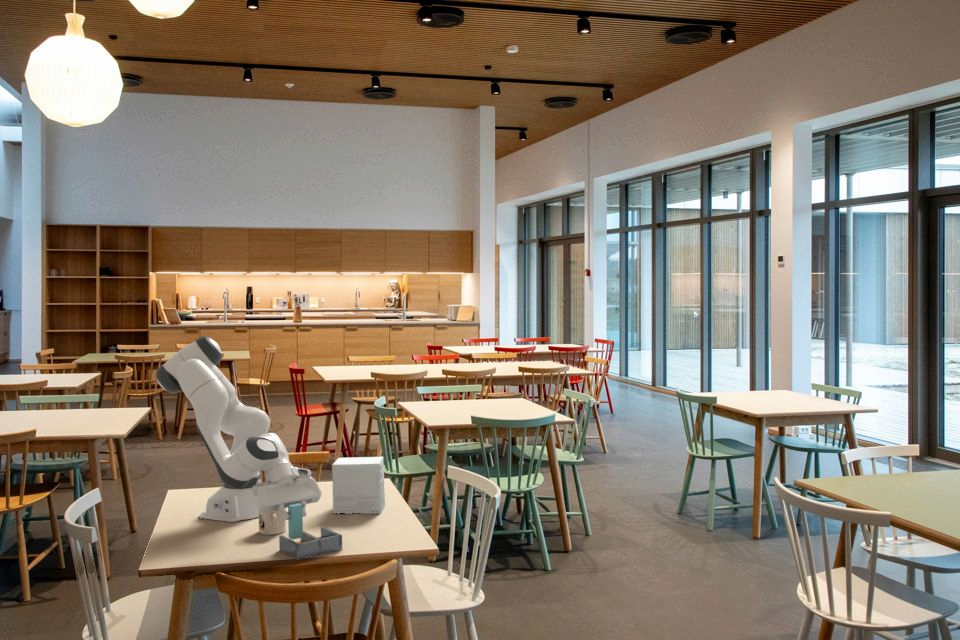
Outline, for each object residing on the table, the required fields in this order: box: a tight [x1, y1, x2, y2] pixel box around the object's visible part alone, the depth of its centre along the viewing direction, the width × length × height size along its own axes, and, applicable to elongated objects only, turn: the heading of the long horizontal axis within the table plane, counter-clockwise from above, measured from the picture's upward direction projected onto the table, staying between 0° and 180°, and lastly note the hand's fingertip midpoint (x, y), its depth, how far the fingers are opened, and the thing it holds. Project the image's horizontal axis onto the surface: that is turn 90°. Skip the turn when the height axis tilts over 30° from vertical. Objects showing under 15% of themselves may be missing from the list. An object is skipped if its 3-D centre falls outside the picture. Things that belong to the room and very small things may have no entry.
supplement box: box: [331, 456, 386, 515], centre depth 295 cm, size 17×13×18 cm
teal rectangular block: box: [287, 503, 304, 541], centre depth 248 cm, size 2×4×10 cm
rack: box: [278, 526, 343, 561], centre depth 249 cm, size 12×15×4 cm
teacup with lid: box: [258, 508, 287, 536], centre depth 268 cm, size 12×9×12 cm
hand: (296, 517), depth 247 cm, fingers closed on teal rectangular block, 3 cm apart
